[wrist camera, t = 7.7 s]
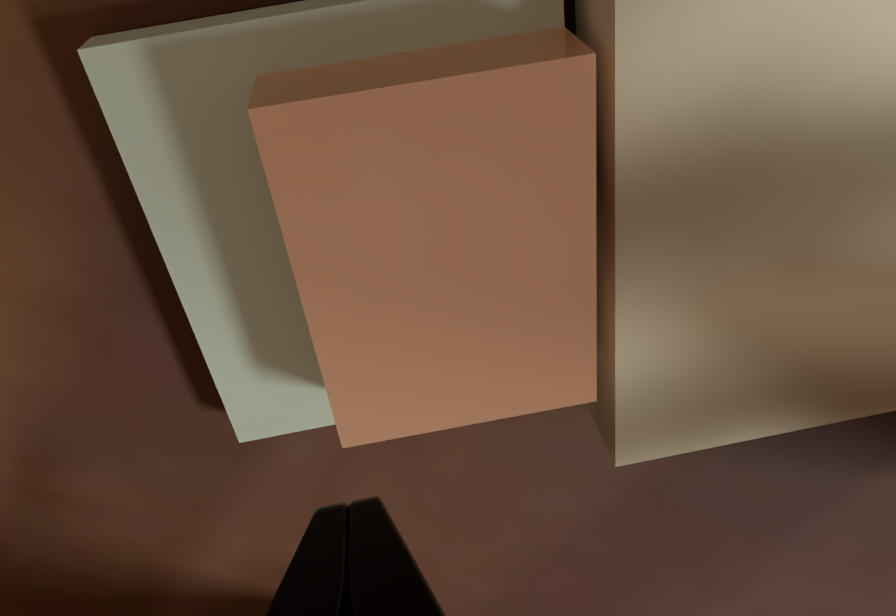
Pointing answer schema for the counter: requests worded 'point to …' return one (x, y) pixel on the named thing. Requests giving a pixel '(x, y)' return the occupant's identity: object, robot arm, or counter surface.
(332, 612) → the robot arm
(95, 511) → the counter surface
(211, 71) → the mat
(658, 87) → the board
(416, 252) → the tile
